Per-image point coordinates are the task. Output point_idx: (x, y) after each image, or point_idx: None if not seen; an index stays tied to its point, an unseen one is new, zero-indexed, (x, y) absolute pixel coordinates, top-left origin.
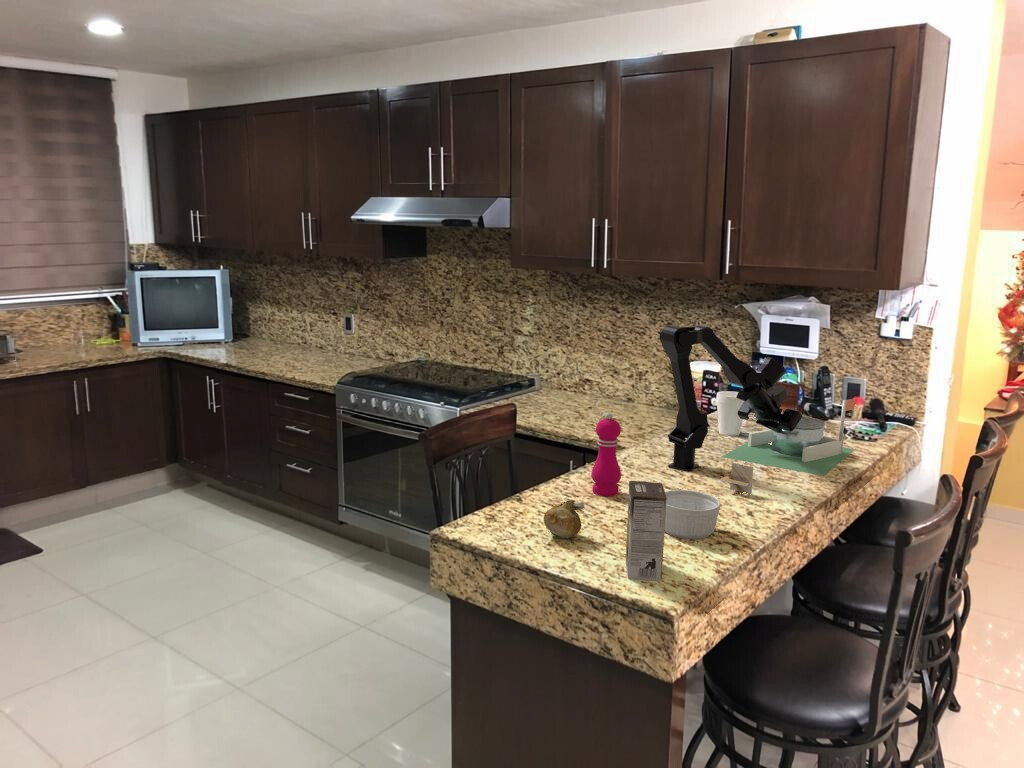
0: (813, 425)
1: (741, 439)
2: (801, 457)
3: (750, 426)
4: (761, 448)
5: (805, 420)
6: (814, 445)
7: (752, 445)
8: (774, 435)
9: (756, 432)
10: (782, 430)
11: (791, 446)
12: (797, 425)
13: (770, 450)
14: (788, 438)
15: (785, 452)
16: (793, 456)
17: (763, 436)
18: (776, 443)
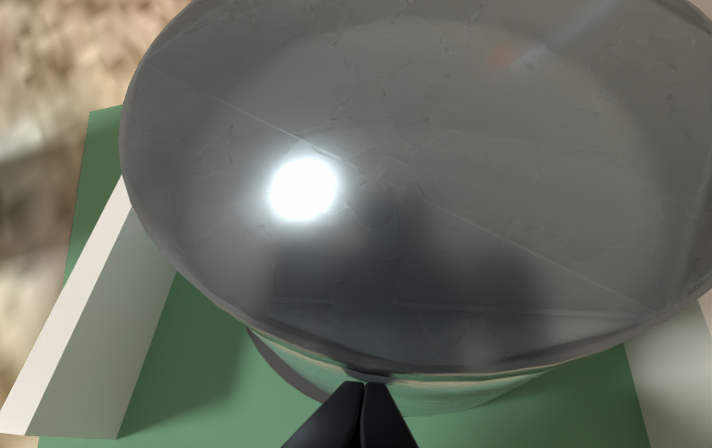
0: (696, 95)
1: (6, 287)
2: (557, 376)
3: (9, 53)
4: (208, 410)
5: (441, 4)
6: (701, 298)
7: (121, 413)
8: (266, 344)
9: (61, 333)
10: (392, 385)
11: (498, 395)
12: (629, 272)
13: (287, 401)
14: (480, 395)
15: (436, 413)
16: (505, 406)
17: (139, 264)
18: (326, 388)
